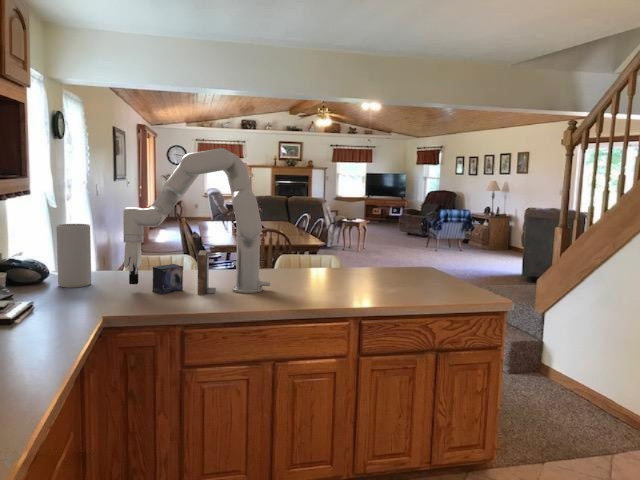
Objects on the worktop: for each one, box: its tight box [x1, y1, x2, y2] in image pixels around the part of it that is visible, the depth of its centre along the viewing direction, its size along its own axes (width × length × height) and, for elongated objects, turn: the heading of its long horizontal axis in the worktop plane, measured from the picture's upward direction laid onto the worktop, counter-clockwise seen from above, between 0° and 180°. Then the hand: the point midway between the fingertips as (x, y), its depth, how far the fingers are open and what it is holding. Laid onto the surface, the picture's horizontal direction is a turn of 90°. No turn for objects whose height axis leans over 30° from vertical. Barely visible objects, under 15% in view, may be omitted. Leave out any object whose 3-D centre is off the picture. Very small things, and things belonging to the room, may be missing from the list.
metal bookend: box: [205, 254, 217, 295], centre depth 207 cm, size 4×11×14 cm, turn 9°
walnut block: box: [197, 249, 208, 296], centre depth 207 cm, size 3×12×16 cm, turn 9°
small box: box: [152, 263, 184, 295], centre depth 205 cm, size 11×6×10 cm, turn 143°
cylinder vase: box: [55, 223, 92, 289], centre depth 209 cm, size 12×12×25 cm
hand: (133, 283), depth 203 cm, fingers closed
